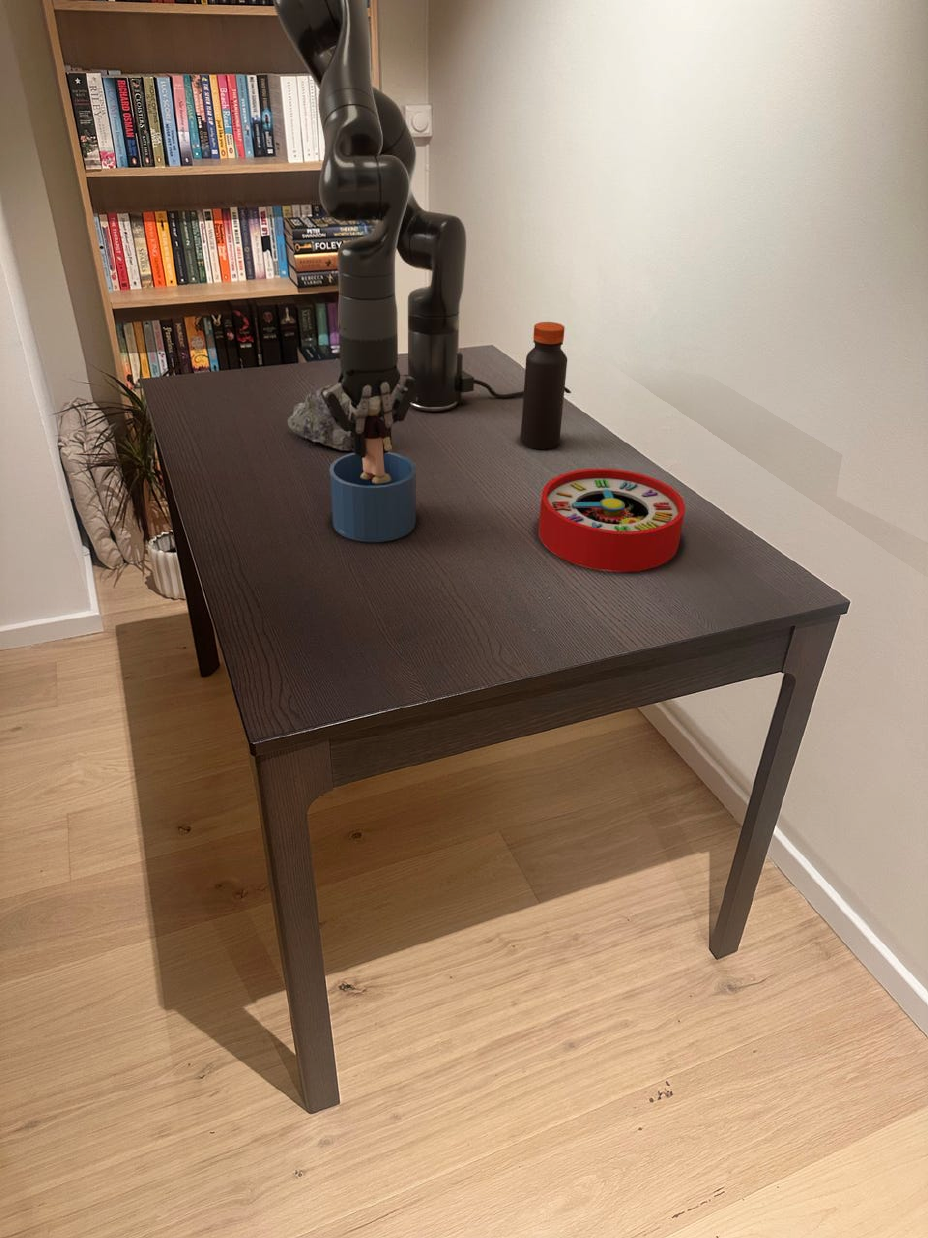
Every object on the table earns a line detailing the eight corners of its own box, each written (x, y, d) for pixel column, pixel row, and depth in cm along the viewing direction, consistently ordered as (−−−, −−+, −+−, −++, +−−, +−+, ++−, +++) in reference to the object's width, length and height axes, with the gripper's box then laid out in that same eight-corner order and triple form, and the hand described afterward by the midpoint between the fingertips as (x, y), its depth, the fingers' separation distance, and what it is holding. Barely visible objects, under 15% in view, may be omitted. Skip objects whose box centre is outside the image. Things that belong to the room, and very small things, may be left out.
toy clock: (703, 533, 120) (553, 534, 118) (695, 571, 123) (549, 572, 122) (664, 468, 136) (532, 468, 135) (658, 503, 140) (529, 503, 138)
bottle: (514, 445, 156) (522, 328, 145) (527, 431, 161) (536, 317, 150) (552, 453, 154) (563, 334, 143) (564, 438, 159) (575, 323, 148)
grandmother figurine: (403, 478, 128) (402, 390, 121) (388, 488, 125) (386, 399, 118) (358, 465, 131) (354, 380, 124) (342, 475, 128) (338, 388, 121)
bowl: (392, 496, 139) (391, 444, 134) (430, 530, 130) (431, 476, 126) (319, 513, 134) (316, 460, 129) (354, 550, 125) (351, 494, 120)
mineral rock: (285, 432, 158) (280, 375, 152) (341, 421, 162) (338, 365, 157) (316, 460, 149) (312, 401, 143) (374, 447, 154) (373, 389, 148)
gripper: (329, 344, 111) (335, 474, 120) (430, 329, 117) (429, 454, 126) (305, 327, 116) (313, 452, 126) (403, 314, 122) (404, 434, 132)
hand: (371, 452), depth 126 cm, fingers closed on grandmother figurine, 3 cm apart
